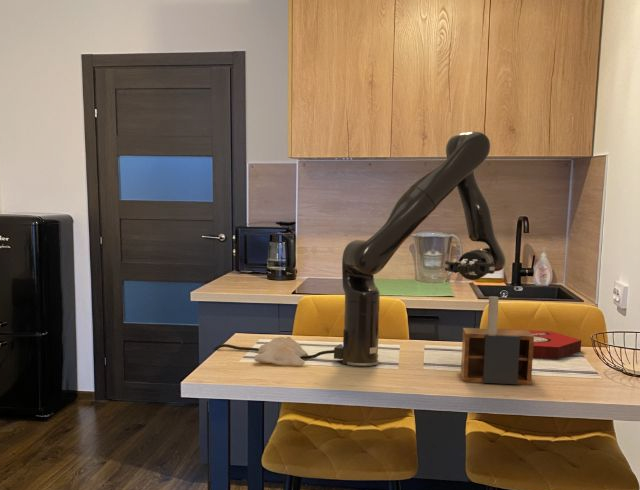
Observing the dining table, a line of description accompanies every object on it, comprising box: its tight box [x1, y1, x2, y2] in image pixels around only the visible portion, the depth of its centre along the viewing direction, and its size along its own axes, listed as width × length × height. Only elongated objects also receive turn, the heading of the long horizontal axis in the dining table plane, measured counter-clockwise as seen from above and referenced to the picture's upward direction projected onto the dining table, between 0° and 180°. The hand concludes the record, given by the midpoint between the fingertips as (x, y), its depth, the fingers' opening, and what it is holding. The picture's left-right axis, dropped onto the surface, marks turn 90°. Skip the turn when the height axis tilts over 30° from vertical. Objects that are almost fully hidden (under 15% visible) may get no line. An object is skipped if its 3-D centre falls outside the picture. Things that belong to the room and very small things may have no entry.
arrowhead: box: [254, 336, 309, 367], centre depth 210 cm, size 14×5×30 cm
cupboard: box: [460, 327, 534, 386], centre depth 183 cm, size 16×8×12 cm, turn 81°
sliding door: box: [482, 295, 520, 385], centre depth 177 cm, size 8×2×21 cm, turn 81°
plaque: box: [504, 328, 582, 360], centre depth 221 cm, size 27×4×30 cm
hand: (462, 269), depth 178 cm, fingers closed
